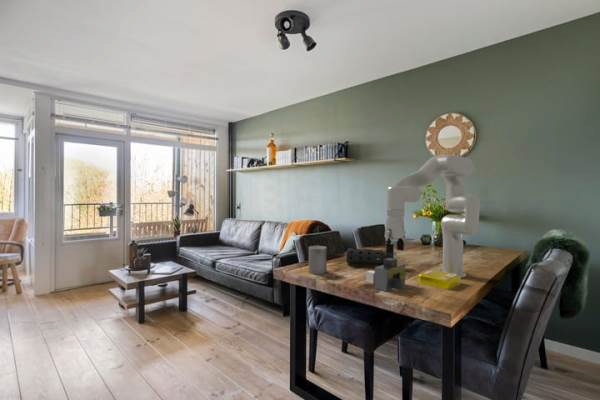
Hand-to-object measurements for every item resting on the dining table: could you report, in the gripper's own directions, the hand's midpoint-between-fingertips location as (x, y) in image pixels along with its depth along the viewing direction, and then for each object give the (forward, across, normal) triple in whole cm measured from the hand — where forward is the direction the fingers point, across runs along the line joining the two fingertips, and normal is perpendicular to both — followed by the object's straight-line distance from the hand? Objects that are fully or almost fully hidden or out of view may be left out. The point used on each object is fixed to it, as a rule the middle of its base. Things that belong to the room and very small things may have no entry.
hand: (395, 251), depth 139 cm
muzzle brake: (+17, -28, -29) cm, 44 cm away
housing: (+16, 0, -2) cm, 17 cm away
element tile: (+17, -22, +12) cm, 30 cm away
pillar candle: (+17, +5, -42) cm, 46 cm away
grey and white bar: (+16, 0, -5) cm, 17 cm away
